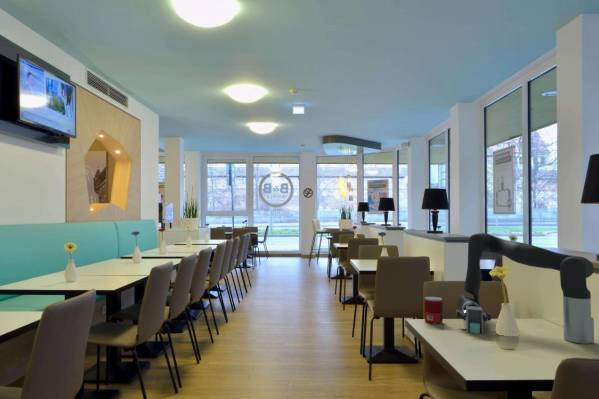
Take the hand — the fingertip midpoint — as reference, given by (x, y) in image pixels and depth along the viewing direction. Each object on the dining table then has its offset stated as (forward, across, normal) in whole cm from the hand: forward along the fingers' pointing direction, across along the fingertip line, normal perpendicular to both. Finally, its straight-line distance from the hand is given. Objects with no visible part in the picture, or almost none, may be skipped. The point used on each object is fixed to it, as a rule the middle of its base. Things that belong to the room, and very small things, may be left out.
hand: (474, 318), depth 174 cm
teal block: (-2, 0, +6) cm, 6 cm away
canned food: (-13, -17, +6) cm, 22 cm away
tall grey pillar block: (-2, 0, +6) cm, 6 cm away
